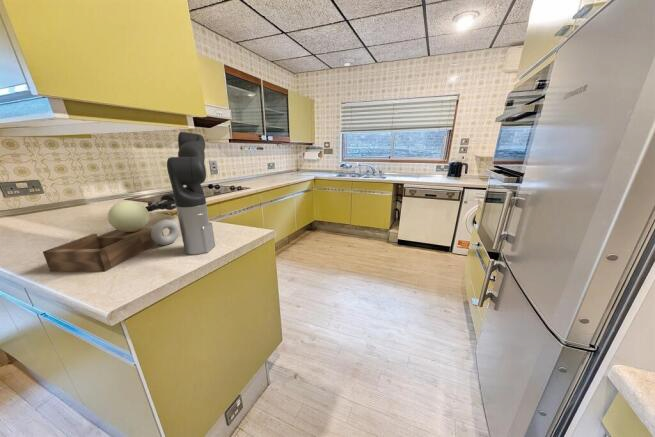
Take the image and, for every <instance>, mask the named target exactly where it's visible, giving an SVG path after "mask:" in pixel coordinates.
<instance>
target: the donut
mask: <svg viewBox="0 0 655 437" xmlns="http://www.w3.org/2000/svg"><path fill="white" fill-rule="evenodd" d="M151 228H152V230H151V237H152V239H153V241H154V242H156V243H157V244H158V245H160V246H162V245H163V246H166V245H170V244H172V243H174V242H175V241H177V239H178V237H179V235H180V234H181V230H180V225H178V223H177V222H176V221H174V220H172V219H161V220H159V221H157V222H156V223H155V224H154V225H153V226H152V227H151ZM165 229H168V230H169V233H168V234H167V235H164V236H163V235H162V231H163V232H164V230H165ZM157 244H156V245H157Z"/></svg>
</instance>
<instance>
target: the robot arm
mask: <svg viewBox="0 0 655 437" xmlns="http://www.w3.org/2000/svg"><path fill="white" fill-rule="evenodd" d="M177 146H178V152H177V156H176V157H175V156H172V157H171V156H170V157H169V158H168V159H166V160H167V161H166V169H167V175H168V178H169V180H170V181H169V182H170V185H171V188H172V192H171V193H166V194H164V195H161V197H160V199H158V200H156V201H153V202H152V201H147V205H146V206H144V207H145V208H146V209H147V210H148V212H149V213H151V212H154V211H158V210H159V211H160V210H166V211H172V210H175V209H176V213H177V219H178V223H179V230H180V234H181V240H182V244H183V248H184V249H183V250H184V254H187V255H200V254H207V253H209V252H210V251H212V250H213V249H214V248H215V247H216V239H215V235H214V230H213V227H214V226H213V222H210V219H209V212H208V205H207V200H206V196H205V194H204V190H203V188H202V187H203V186H202V184H204V183H205V181H206V179H207V169H206V164H205V158H206V153H205V149H206V140H205V138H204V136H203V135H202V134H200V133H199V134H198V133H192V132H186V131H180V132H179V133H178V137H177Z"/></svg>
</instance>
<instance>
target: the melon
mask: <svg viewBox="0 0 655 437" xmlns="http://www.w3.org/2000/svg"><path fill="white" fill-rule="evenodd" d="M145 207H146V206H144V204H141V203H140V202H137V201H134V200H123V201H120V202H117V203H115V204H113V205H112V206H111V208H110V209H109V210H108V212H107V221H108V223H109V224H110V225H111V226H112V227H113V228H114V230H116V229H117V230H119V231H123V232H135V231H138V230H140V229H142V228H146V226H147V225H148V223H149V221H150V212H148V210H147V209H146V208H145Z"/></svg>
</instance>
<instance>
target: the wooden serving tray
mask: <svg viewBox="0 0 655 437" xmlns="http://www.w3.org/2000/svg"><path fill="white" fill-rule="evenodd" d="M152 228H153V227H143V228H142V229H140V230H138V231H135V232H123V231H119V230H117V229H114V230H111V231H108V232H106V233H104V234H100V235H98V233H91V234H88V235H85V236H83V237H80V238H78V239H75V240H72V241H69V242H66V243H63V244H60V245H58V246H55V247H52V248H50V249H47V250H43V251H42V254H43V256H44V259H45V261H46V264H47V267H48V269H49V272H107V271H109V270H111V269H112V268H114V267H117V266H118V265H120V264H122V263H124V262H126V261H127V260H129V259H131V258H133V257H135V256H136V255H138V254H140V253H142V252H144V251H146V250H148V249H149V248H151V247H153V246H155V245H157V243H156V242H154V241H153V239H152V237H151V230H152ZM162 235H163V236H165V235H164V230H163V231H162Z"/></svg>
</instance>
